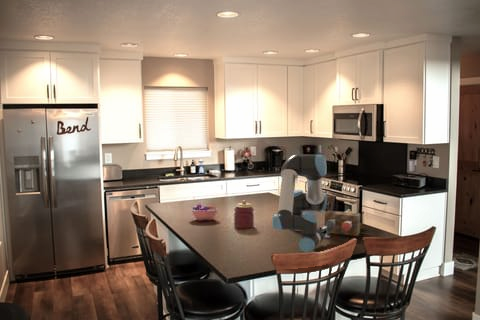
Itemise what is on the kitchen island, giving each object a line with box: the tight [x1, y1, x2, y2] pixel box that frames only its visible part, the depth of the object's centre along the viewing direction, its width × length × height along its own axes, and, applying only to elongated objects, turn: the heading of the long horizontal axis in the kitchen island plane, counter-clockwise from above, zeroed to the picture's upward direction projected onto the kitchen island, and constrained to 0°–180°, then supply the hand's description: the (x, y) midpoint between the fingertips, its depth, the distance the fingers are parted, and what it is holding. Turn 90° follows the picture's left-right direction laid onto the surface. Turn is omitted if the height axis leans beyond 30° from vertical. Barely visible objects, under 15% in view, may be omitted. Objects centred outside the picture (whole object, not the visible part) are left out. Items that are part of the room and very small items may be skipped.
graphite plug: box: [324, 218, 336, 230], centre depth 263 cm, size 5×13×5 cm, turn 154°
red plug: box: [341, 220, 353, 232], centre depth 259 cm, size 5×13×5 cm, turn 154°
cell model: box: [189, 203, 219, 222], centre depth 300 cm, size 17×20×11 cm
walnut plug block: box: [324, 210, 361, 237], centre depth 268 cm, size 20×8×12 cm, turn 64°
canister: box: [233, 199, 255, 230], centre depth 280 cm, size 13×13×18 cm
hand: (325, 228), depth 251 cm, fingers closed
